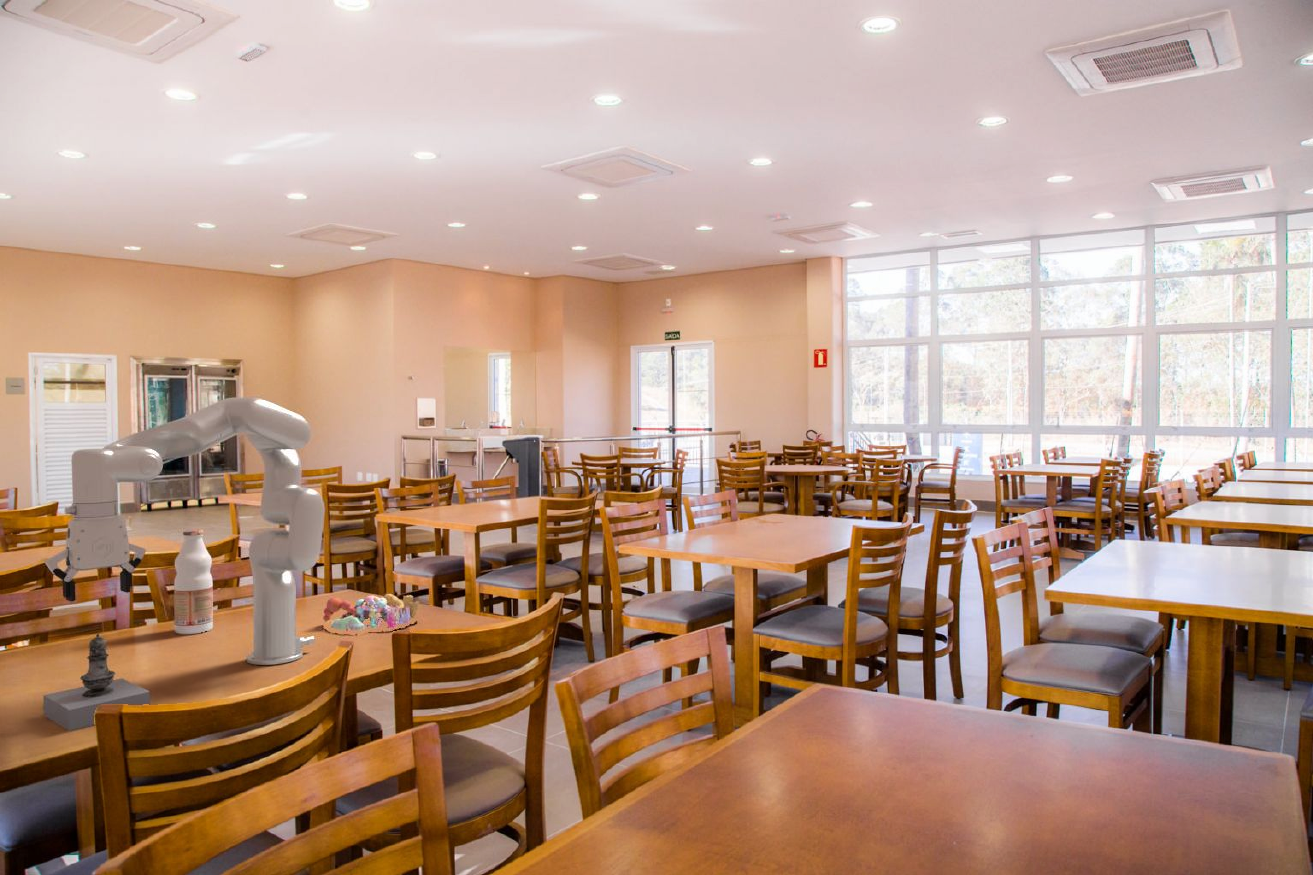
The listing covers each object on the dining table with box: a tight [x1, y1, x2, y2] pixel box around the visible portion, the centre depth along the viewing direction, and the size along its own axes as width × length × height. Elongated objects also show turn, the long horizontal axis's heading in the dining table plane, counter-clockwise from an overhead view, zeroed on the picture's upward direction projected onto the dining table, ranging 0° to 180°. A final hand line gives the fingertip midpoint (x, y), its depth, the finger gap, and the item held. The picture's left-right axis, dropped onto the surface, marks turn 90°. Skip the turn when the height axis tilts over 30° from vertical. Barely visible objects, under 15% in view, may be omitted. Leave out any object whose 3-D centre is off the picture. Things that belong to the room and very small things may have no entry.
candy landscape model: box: [322, 593, 420, 631], centre depth 243 cm, size 25×24×9 cm
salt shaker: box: [80, 632, 117, 697], centre depth 169 cm, size 6×6×12 cm
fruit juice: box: [173, 529, 214, 635], centre depth 235 cm, size 9×9×28 cm
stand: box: [43, 678, 151, 732], centre depth 169 cm, size 14×14×4 cm
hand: (98, 595), depth 169 cm, fingers open, 9 cm apart
